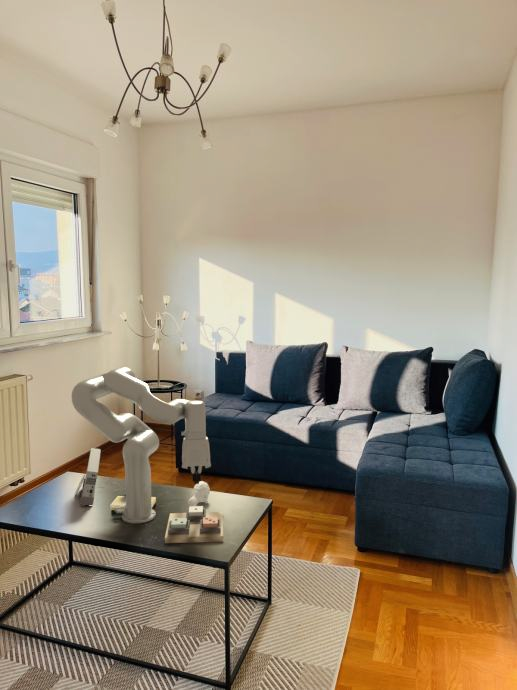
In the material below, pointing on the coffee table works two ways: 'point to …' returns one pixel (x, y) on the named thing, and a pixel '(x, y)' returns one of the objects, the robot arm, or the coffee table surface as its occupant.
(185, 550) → the coffee table surface
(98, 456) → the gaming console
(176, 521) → the tile sage
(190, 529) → the tile board
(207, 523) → the tile terracotta
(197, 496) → the white statuette
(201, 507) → the tile cream
